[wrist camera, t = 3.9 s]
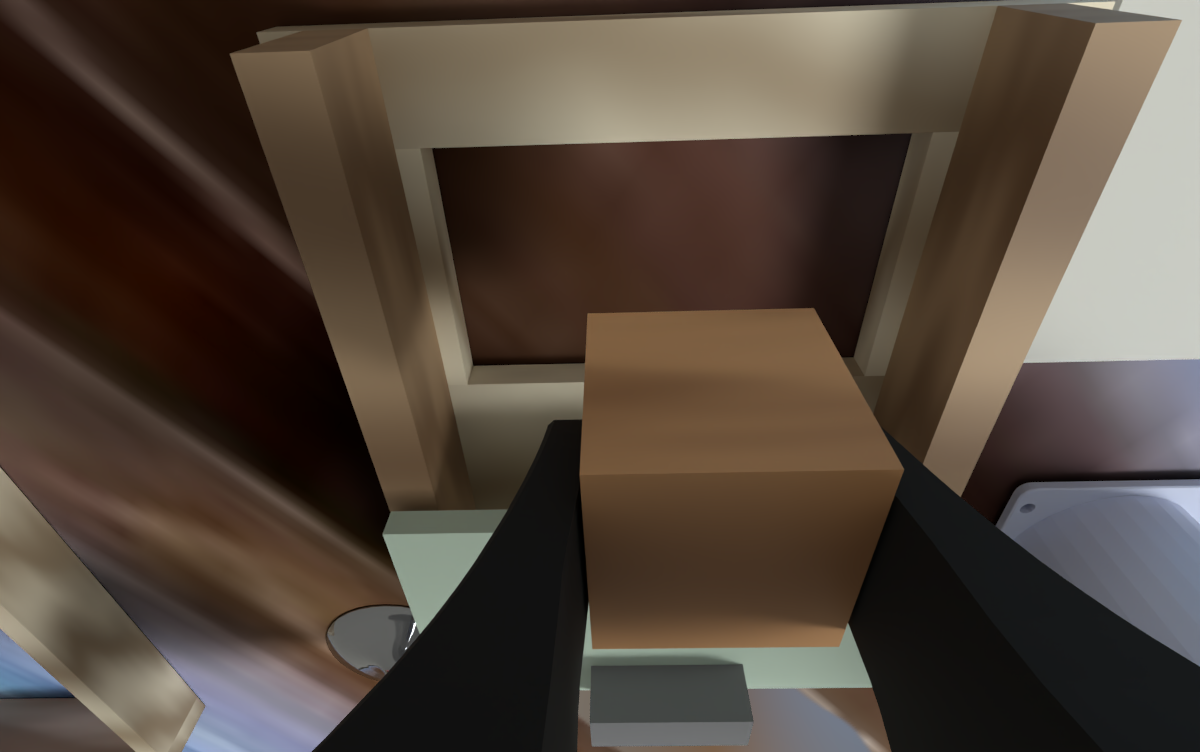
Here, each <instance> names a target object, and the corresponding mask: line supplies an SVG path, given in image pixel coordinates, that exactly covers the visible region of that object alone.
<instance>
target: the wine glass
mask: <svg viewBox="0 0 1200 752" xmlns="http://www.w3.org/2000/svg"><path fill="white" fill-rule="evenodd" d="M419 635H420V633H419V631H418V628H417V625H416V623H415V620H414V617H413V615H412V612H411V609H410V607H406V606H397V605H378V606H368V607H363V608H358V609H355V610H352V611H349V612H347V613H345V614H343V615H341V616H339V617H338V618H337V619H336V620H335V621H333V623H332V624H331V625H330V627H329V628H328V632H327V644H328V647H329V650H330V651H331V653H332V654H333V656H334V657H335V658H336V659H337V660H338V661H339V662H340V663H341V664H343V665H344V666H345V667H347V668H348V669H350V670H352V671H354V672H355V673H357V674H359V675H362V676H364V677H367V678H369V679H372V680H376V681H380V680H381V679H382V678H383V677H384V676H385V675H386V674H387V672H388V671H389V670H390V669H391V668H392V667H393V666H394V664H395V663H396V662H397V661H398V660H399V659H400V658H401V656H402V655H403V654H404V653H405V652H406V651H407V649H408V648H409V647H410V646H411V644H412V643H413V642H414V641H415V640H416V638H417V637H418V636H419Z"/></svg>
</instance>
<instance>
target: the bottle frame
mask: <svg viewBox="0 0 1200 752" xmlns="http://www.w3.org/2000/svg"><path fill="white" fill-rule="evenodd" d="M0 629H1V630H2V631H3V632H5V633H6V634H7V635H8V636H9V637H10V638H11V639H12V640H13V641H14V642H16V643H17V644H18V645H19V646H20V647H21V648H22V649H23V650H24V651H25V652H27V653H28V654H29V655H30V656H31V657H32V658H33V659H34V660H35V661H36V662H38V663H39V664H40V665H41V666H42V667H43V668H44V669H45V670H46V671H47V672H49V673H50V674H51V675H52V676H53V677H54V678H55V679H56V680H57V681H58V682H60V683H61V684H62V685H63V686H64V687H65V688H66V689H67V690H68V691H69V692H71V693H72V694H73V695H74V696H75V697H76V698H31V699H0V752H182V750H183V748H184V746H185V744H186V742H187V741H188V739H189V737H190V735H191V733H192V731H193V729H194V727H195V725H196V723H197V721H198V719H199V717H200V715H201V714H202V712H203V710H204V708H205V705H204V704H203V703H202V702H201V700H200V699H199V698H198V697H197V696H196V695H195V693H194V692H193V691H192V690H191V689H190V688H189V686H188V685H187V684H186V683H185V682H184V681H183V679H182V678H181V677H180V676H179V675H178V674H177V672H176V671H175V670H174V669H173V668H172V667H171V665H170V664H169V663H168V662H167V661H166V660H165V659H164V657H163V656H162V655H161V654H160V653H159V652H158V650H157V649H156V648H155V647H154V646H153V645H152V643H151V642H150V641H149V640H148V639H147V638H146V636H145V635H144V634H143V633H142V632H141V631H140V629H139V628H138V627H137V626H136V625H135V624H134V622H133V621H132V620H131V619H130V618H129V617H128V615H127V614H126V613H125V612H124V611H123V610H122V608H121V607H120V606H119V605H118V604H117V603H116V601H115V600H114V599H113V598H112V597H111V596H110V594H109V593H108V592H107V591H106V590H105V589H104V587H103V586H102V585H101V584H100V583H99V582H98V580H97V579H96V578H95V577H94V576H93V575H92V574H91V572H90V571H89V570H88V569H87V568H86V567H85V565H84V564H83V563H82V562H81V561H80V560H79V558H78V557H77V556H76V555H75V554H74V553H73V551H72V550H71V549H70V548H69V547H68V546H67V544H66V543H65V542H64V541H63V540H62V539H61V537H60V536H59V535H58V534H57V533H56V532H55V530H54V529H53V528H52V527H51V526H50V525H49V523H48V522H47V521H46V520H45V519H44V518H43V516H42V515H41V514H40V513H39V512H38V511H37V509H36V508H35V507H34V506H33V505H32V504H31V502H30V501H29V500H28V499H27V498H26V497H25V495H24V494H23V493H22V492H21V491H20V490H19V489H18V487H17V486H16V485H15V484H14V483H13V482H12V480H11V479H10V478H9V477H8V476H7V475H6V473H5V472H4V471H3V470H2V469H1V468H0Z"/></svg>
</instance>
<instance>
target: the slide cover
mask: <svg viewBox="0 0 1200 752" xmlns="http://www.w3.org/2000/svg"><path fill="white" fill-rule="evenodd" d="M507 510H508V509H504V510H444V511H391V513H390V516H389V518H388V521H387V524H386V527H385V529H384V532H383V537H384V540H385V542H386V545H387V548H388V550H389V553H390V556H391V558H392V561H393V564H394V566H395V569H396V572H397V574H398V577H399V580H400V582H401V585H402V588H403V591H404V593H405V596H406V599H407V601H408V604H409V607H410V609H411V612H412V615H413V617H414V620H415V623H416V625H417V628H418V631H419V633H420V634H421V632H422V631H423V630H424V629H425V627H426V626H427V625H428V624H429V623H430V621H431V620H432V619H433V618H434V617H435V615H436V614H437V613H438V611H439V610H440V609H441V607H442V606H443V605H444V603H445V602H446V601H447V600H448V598H449V597H450V596H451V594H452V593H453V592H454V590H455V589H456V588H457V586H458V585H459V583H460V582H461V581H462V579H463V578H464V576H465V575H466V574H467V572H468V571H469V569H470V568H471V566H472V565H473V564H474V562H475V561H476V559H477V558H478V556H479V555H480V553H481V551H482V550H483V548H484V547H485V545H486V544H487V542H488V540H489V539H490V537H491V536H492V534H493V533H494V531H495V529H496V528H497V526H498V525H499V523H500V522H501V520H502V518H503V517H504V515H505V513H506V512H507ZM868 687H872V685H871V682H870V679H869V676H868V674H867V671H866V668H865V666H864V663H863V661H862V658H861V655H860V653H859V650H858V648H857V645H856V642H855V640H854V637H853V635H852V632H851V629H850V627H849V624H847V627H846V630H845V632H844V635H843V638H842V641H841V643H840V646H839V647H770V648H666V649H592V638H591V624H590V610H589V605H588V614H587V624H586V633H585V642H584V651H583V660H582V669H581V678H580V690H591V697H590V699H591V700H590V729H591V740H592V746H700V745H701V746H711V745H748V742H749V738H750V734H751V730H752V726H753V716H752V711H751V706H750V701H749V695H748V690H747V689H751V688H753V689H761V688H868Z"/></svg>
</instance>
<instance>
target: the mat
mask: <svg viewBox="0 0 1200 752" xmlns="http://www.w3.org/2000/svg"><path fill="white" fill-rule="evenodd" d="M1109 1H1116V2H1115V4H1114V7H1113V9H1112V10H1117V11H1123V12H1130V13H1137V14H1144V15H1151V16H1158V17H1165V18H1171V19H1178V20H1182V22H1181V24H1180V26H1179V28H1178V30H1177V32H1176V35H1175V37H1174V39H1173V41H1172V43H1171V45H1170V47H1169V50H1168V52H1167V54H1166V56H1165V58H1164V60H1163V63H1162V65H1161V67H1160V69H1159V71H1158V73H1157V75H1156V78H1155V80H1154V82H1153V84H1152V86H1151V88H1150V91H1149V93H1148V95H1147V97H1146V99H1145V101H1144V103H1143V106H1142V108H1141V110H1140V112H1139V114H1138V116H1137V119H1136V121H1135V123H1134V125H1133V127H1132V129H1131V131H1130V134H1129V136H1128V138H1127V140H1126V142H1125V144H1124V146H1123V149H1122V151H1121V153H1120V155H1119V157H1118V159H1117V162H1116V164H1115V166H1114V168H1113V170H1112V172H1111V174H1110V177H1109V179H1108V181H1107V183H1106V185H1105V187H1104V190H1103V192H1102V194H1101V196H1100V198H1099V200H1098V202H1097V205H1096V207H1095V209H1094V211H1093V213H1092V215H1091V218H1090V220H1089V222H1088V224H1087V226H1086V228H1085V230H1084V233H1083V235H1082V237H1081V239H1080V241H1079V243H1078V246H1077V248H1076V250H1075V252H1074V254H1073V256H1072V258H1071V261H1070V263H1069V265H1068V267H1067V269H1066V271H1065V274H1064V276H1063V278H1062V280H1061V282H1060V284H1059V286H1058V289H1057V291H1056V293H1055V295H1054V297H1053V299H1052V302H1051V304H1050V306H1049V308H1048V310H1047V312H1046V314H1045V317H1044V319H1043V321H1042V323H1041V325H1040V327H1039V330H1038V332H1037V334H1036V336H1035V338H1034V340H1033V342H1032V345H1031V347H1030V349H1029V351H1028V353H1027V355H1026V358H1025V360H1024V362H1023V363H1040V362H1086V361H1131V360H1176V359H1200V0H1109Z"/></svg>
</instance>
